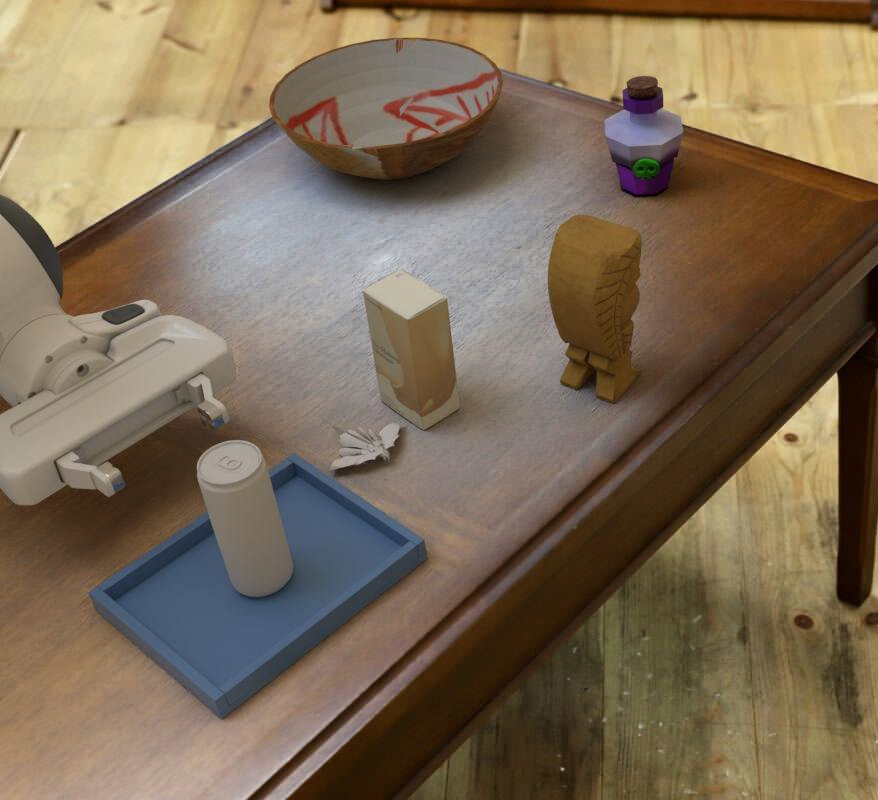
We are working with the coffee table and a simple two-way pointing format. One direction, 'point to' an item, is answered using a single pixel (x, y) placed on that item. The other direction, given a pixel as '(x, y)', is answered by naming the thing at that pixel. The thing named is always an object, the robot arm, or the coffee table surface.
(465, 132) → the bowl
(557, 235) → the figurine
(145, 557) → the tray
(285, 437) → the coffee table surface
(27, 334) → the robot arm
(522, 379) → the coffee table surface
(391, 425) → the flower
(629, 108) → the potion bottle
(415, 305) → the cosmetic box
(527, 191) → the coffee table surface
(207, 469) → the beverage can
